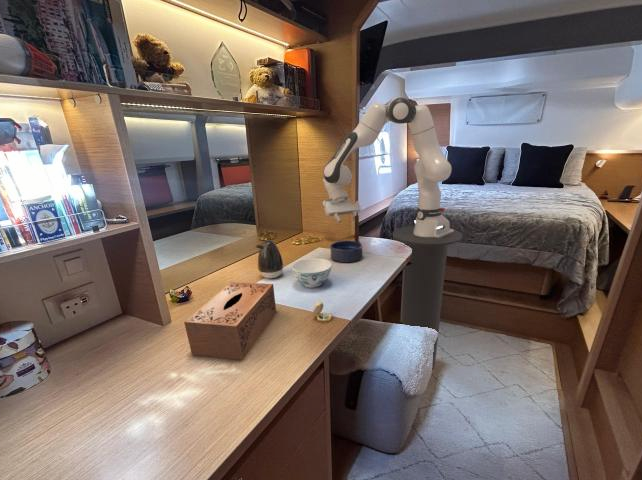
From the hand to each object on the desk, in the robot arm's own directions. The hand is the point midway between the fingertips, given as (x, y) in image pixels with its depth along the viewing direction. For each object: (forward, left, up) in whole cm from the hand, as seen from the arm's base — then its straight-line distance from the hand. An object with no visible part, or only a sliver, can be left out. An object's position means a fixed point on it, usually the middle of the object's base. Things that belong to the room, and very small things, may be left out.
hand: (347, 220), depth 176 cm
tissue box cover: (+77, +56, -11) cm, 96 cm away
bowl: (+16, +22, -11) cm, 29 cm away
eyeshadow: (+53, +64, -11) cm, 84 cm away
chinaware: (+43, +39, -11) cm, 59 cm away
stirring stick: (+3, +12, -11) cm, 16 cm away
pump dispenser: (+53, +22, -11) cm, 58 cm away
